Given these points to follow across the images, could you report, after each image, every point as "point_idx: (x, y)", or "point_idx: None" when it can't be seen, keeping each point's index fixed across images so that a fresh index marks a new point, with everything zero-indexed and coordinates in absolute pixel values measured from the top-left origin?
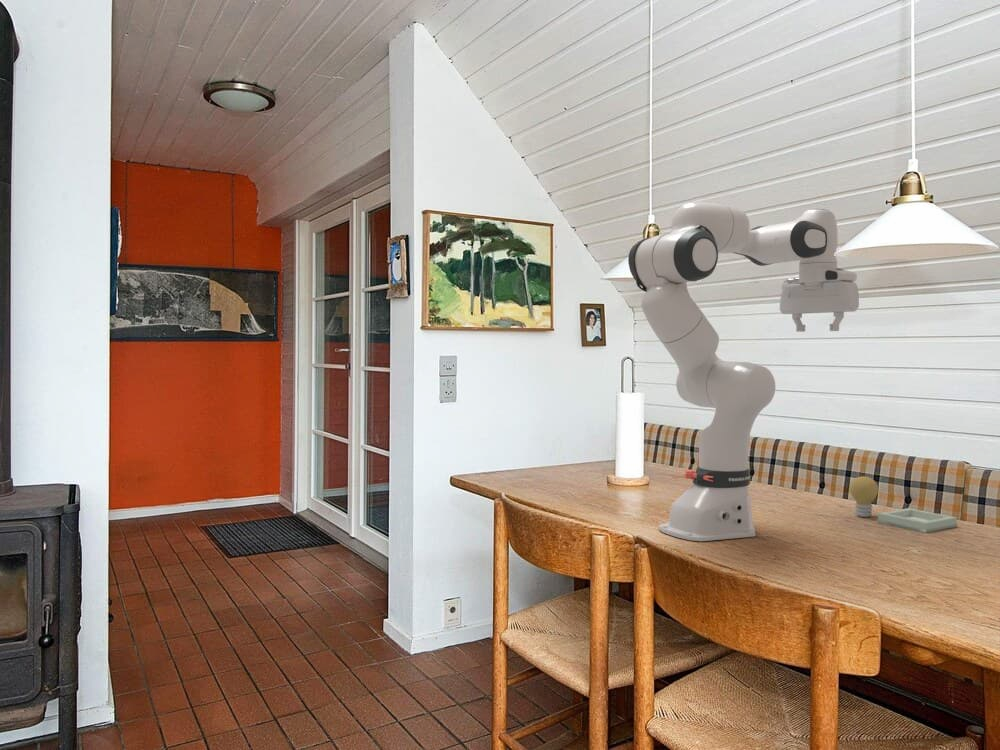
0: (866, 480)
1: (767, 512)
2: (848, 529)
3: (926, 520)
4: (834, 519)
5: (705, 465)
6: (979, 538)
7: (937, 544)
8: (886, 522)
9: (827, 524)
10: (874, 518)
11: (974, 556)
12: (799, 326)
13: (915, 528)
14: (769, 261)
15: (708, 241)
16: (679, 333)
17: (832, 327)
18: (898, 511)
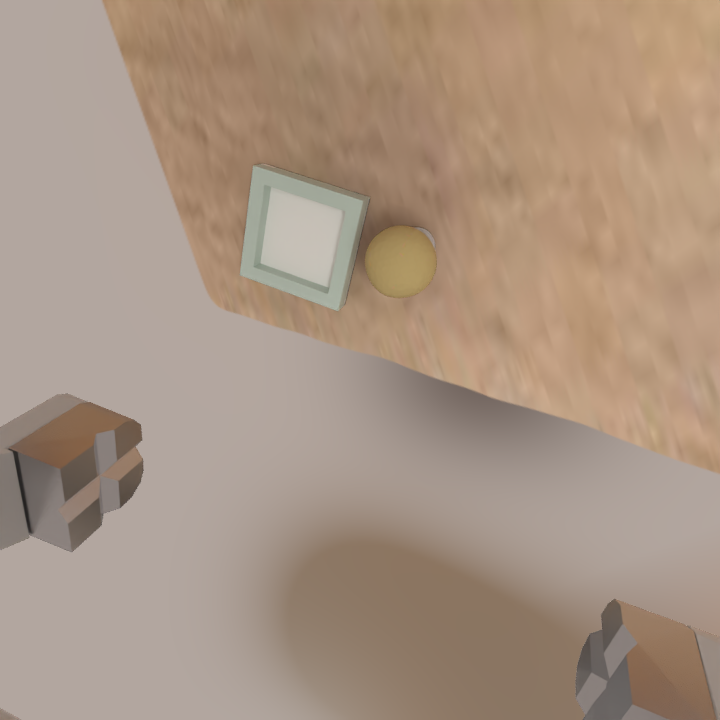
0: (380, 250)
1: (655, 99)
2: (391, 57)
3: (296, 267)
4: (460, 154)
5: None
6: (187, 191)
7: (209, 64)
8: (347, 191)
9: (452, 74)
10: None
11: (130, 11)
12: (668, 681)
13: (283, 170)
14: None
15: None
16: None
17: (63, 419)
18: (339, 257)
